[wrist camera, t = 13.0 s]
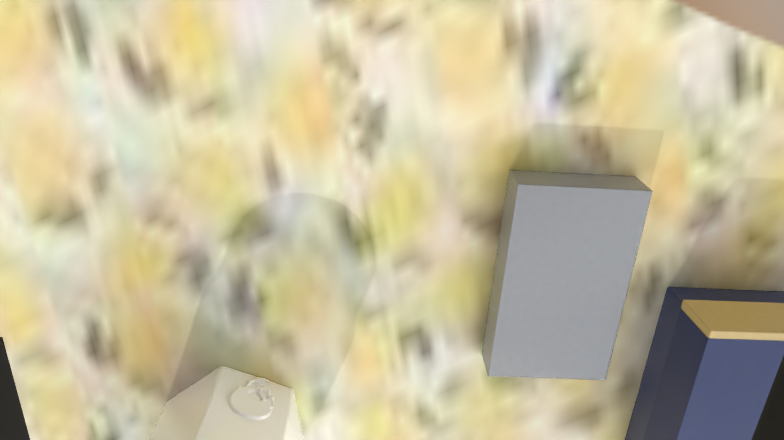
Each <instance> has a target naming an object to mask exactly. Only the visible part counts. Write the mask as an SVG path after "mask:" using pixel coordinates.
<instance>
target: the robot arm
mask: <svg viewBox="0 0 784 440" xmlns="http://www.w3.org/2000/svg"><path fill="white" fill-rule="evenodd" d="M0 440H30V438H29V434H28V430H27V427H26V423H25V419H24V416H23V412H22V408H21V405H20V401H19V397H18V393H17V390H16V386H15V382H14V379H13V375H12V371H11V368H10V364H9V360H8V357H7V353H6V349H5V345H4V342H3V338H2V337H0ZM752 440H784V356H783V358H782V361H781V363H780V366H779V369H778V371H777V374H776V377H775V379H774V382H773V384H772V387H771V390H770V392H769V395H768V398H767V400H766V403H765V405H764V408H763V411H762V413H761V416H760V419H759V421H758V424H757V426H756V429H755V432H754V434H753V437H752Z"/></svg>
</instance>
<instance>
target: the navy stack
mask: <svg viewBox="0 0 784 440" xmlns="http://www.w3.org/2000/svg"><path fill="white" fill-rule="evenodd" d="M683 300H710V301H739V302H768V303H784V292H779V291H755V290H731V289H708V288H684V287H668V288H667V291H666V294H665V298H664V301H663V305H662V309H661V312H660V316H659V319H658V323H657V327H656V330H655V334H654V337H653V341H652V345H651V348H650V352H649V355H648V359H647V363H646V366H645V370H644V373H643V377H642V381H641V384H640V388H639V391H638V395H637V398H636V402H635V406H634V409H633V413H632V416H631V420H630V424H629V427H628V431H627V434H626V438H625V440H643V438H644V434H645V431H646V427H647V424H648V420H649V417H650V413H651V410H652V406H653V403H654V399H655V396H656V392H657V389H658V385H659V382H660V378H661V375H662V371H663V368H664V364H665V361H666V357H667V354H668V350H669V347H670V343H671V340H672V336H673V333H674V329H675V326H676V322H677V319H678V315H679V312H680V308H681V305H682V302H683Z"/></svg>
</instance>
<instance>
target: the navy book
mask: <svg viewBox="0 0 784 440" xmlns="http://www.w3.org/2000/svg"><path fill="white" fill-rule="evenodd" d="M783 356H784V303H768V302H739V301H710V300H683V302H682V305H681V308H680V312H679V315H678V319H677V322H676V326H675V329H674V333H673V336H672V340H671V343H670V347H669V350H668V354H667V357H666V361H665V364H664V368H663V371H662V375H661V378H660V382H659V385H658V389H657V392H656V396H655V399H654V403H653V406H652V410H651V413H650V417H649V420H648V424H647V427H646V431H645V434H644V438H643V440H752V437H753V434H754V432H755V429H756V426H757V424H758V421H759V419H760V416H761V413H762V411H763V408H764V405H765V403H766V400H767V398H768V395H769V392H770V390H771V387H772V384H773V382H774V379H775V377H776V374H777V371H778V369H779V366H780V363H781V361H782V358H783Z"/></svg>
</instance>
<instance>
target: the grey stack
mask: <svg viewBox="0 0 784 440" xmlns="http://www.w3.org/2000/svg"><path fill="white" fill-rule="evenodd" d="M651 195H652V190H651V189H650V188H648V187H647V186H646V185H645V184H644V183H643V182H641V181H640V180H639V179H638V178H637V177H632V176H613V175H593V174H574V173H555V172H536V171H516V170H509V175H508V182H507V188H506V195H505V202H504V208H503V215H502V222H501V229H500V235H499V242H498V249H497V256H496V262H495V269H494V276H493V282H492V289H491V296H490V303H489V309H488V316H487V323H486V330H485V336H484V343H483V350H482V356H483V360H484V363H485V367H486V371H487V374H488V376H496V377H527V378H557V379H587V380H605V379H606V375H607V371H608V367H609V363H610V359H611V355H612V351H613V347H614V343H615V339H616V335H617V331H618V327H619V323H620V319H621V315H622V311H623V307H624V303H625V299H626V295H627V291H628V287H629V283H630V279H631V275H632V271H633V267H634V263H635V259H636V255H637V251H638V247H639V243H640V239H641V235H642V231H643V227H644V223H645V219H646V215H647V211H648V207H649V203H650V199H651Z"/></svg>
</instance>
